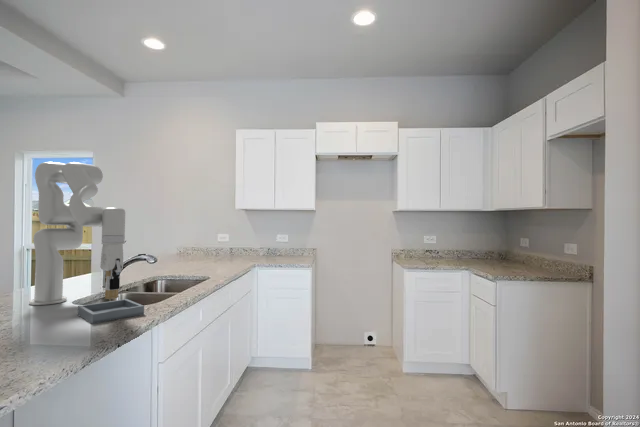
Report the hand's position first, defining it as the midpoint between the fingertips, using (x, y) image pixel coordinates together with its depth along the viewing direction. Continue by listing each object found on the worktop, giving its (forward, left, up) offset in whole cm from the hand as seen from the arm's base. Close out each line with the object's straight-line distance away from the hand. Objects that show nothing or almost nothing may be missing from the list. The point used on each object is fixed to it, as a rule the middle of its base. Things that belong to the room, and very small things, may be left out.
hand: (111, 287), depth 130 cm
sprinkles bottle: (0, 0, -4) cm, 4 cm away
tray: (0, 0, -10) cm, 10 cm away
